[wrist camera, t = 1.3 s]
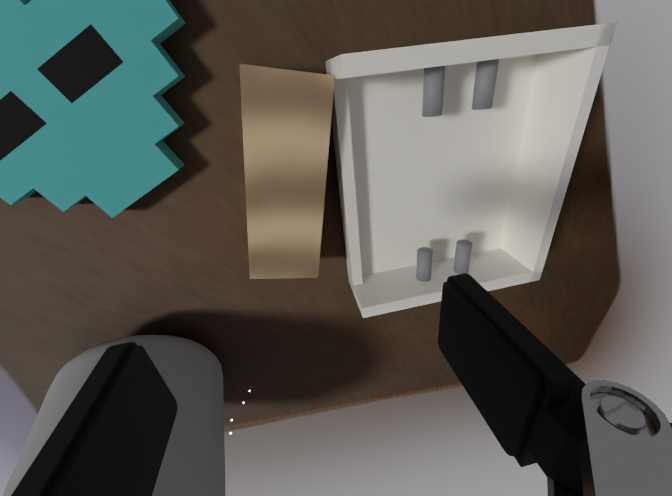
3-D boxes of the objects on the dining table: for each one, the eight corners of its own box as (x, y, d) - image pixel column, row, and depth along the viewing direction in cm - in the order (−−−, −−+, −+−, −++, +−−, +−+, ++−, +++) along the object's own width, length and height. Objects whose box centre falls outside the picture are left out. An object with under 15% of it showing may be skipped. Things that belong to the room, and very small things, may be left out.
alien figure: (-300, -14, 16) (66, 249, 25) (-380, -28, 14) (50, 263, 24) (-39, -295, 13) (252, 115, 23) (-91, -359, 11) (250, 118, 21)
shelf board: (245, 67, 21) (239, 63, 18) (325, 76, 23) (334, 75, 19) (252, 255, 29) (249, 279, 26) (313, 255, 30) (318, 277, 27)
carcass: (325, 61, 22) (341, 54, 17) (542, 35, 24) (616, 22, 19) (348, 280, 32) (362, 318, 27) (499, 250, 34) (539, 279, 29)
